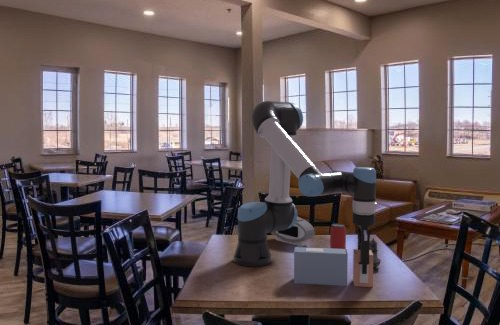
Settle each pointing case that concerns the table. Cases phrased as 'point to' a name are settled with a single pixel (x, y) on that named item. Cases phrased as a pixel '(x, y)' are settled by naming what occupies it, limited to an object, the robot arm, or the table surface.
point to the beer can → (338, 236)
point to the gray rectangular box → (320, 266)
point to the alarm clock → (296, 233)
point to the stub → (357, 269)
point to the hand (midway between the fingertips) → (362, 278)
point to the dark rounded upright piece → (374, 254)
